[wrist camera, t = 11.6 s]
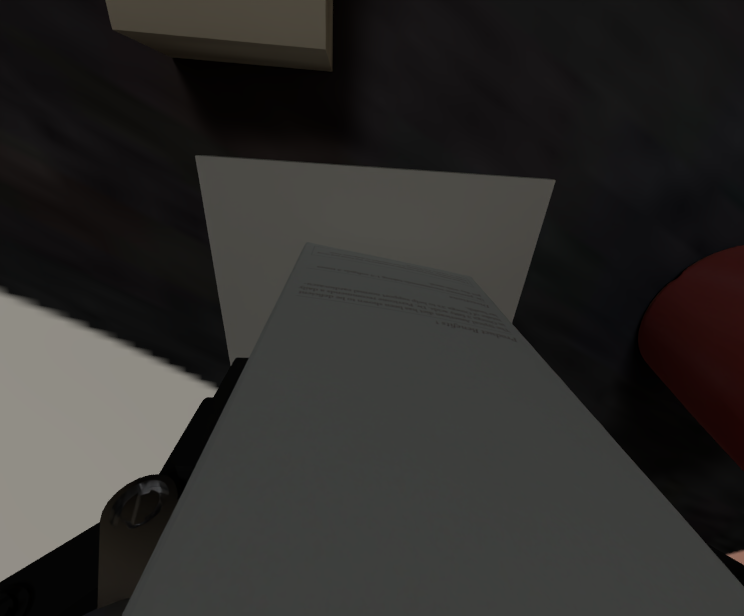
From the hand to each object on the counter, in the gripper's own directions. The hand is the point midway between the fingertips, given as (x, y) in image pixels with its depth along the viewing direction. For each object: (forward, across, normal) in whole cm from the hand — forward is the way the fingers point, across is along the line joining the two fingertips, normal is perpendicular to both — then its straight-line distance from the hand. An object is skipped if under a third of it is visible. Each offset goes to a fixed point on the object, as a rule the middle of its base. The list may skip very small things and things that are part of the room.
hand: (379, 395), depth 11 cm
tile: (+6, 0, 0) cm, 6 cm away
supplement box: (+4, 0, 0) cm, 4 cm away
